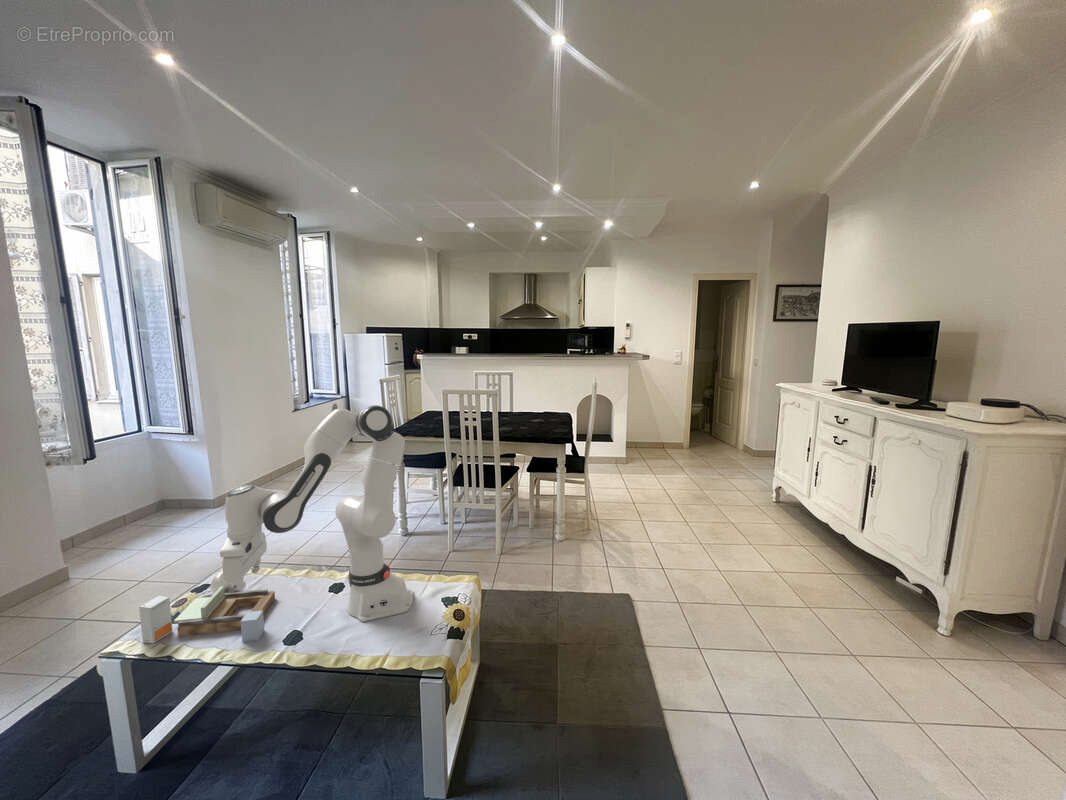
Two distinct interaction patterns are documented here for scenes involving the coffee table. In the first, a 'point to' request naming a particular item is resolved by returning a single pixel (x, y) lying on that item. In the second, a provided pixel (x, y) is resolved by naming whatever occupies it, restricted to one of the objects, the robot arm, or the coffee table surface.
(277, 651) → the coffee table surface
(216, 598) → the lid
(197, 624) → the wooden box frame
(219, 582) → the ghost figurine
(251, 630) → the block
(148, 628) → the skincare box
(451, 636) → the coffee table surface
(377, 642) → the coffee table surface
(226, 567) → the robot arm
